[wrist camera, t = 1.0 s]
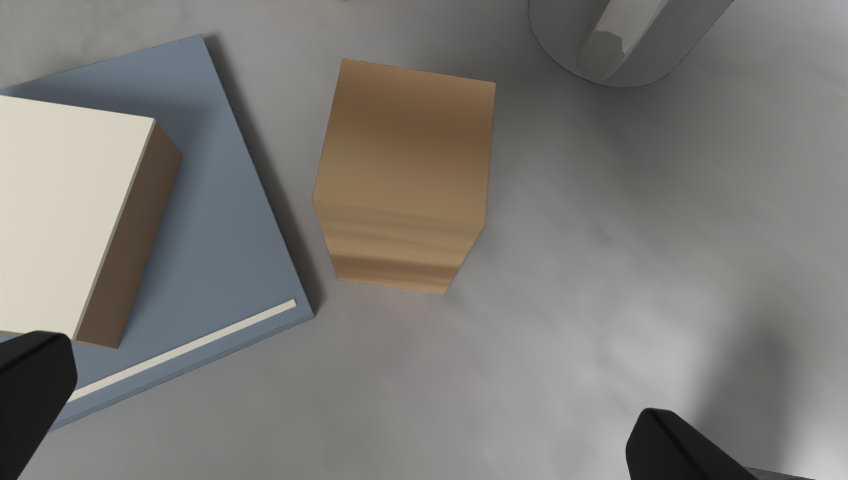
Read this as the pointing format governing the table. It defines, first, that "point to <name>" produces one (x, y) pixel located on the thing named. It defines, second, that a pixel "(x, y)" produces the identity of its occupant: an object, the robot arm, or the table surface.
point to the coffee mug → (621, 36)
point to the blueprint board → (198, 221)
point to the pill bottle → (773, 475)
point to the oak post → (404, 174)
